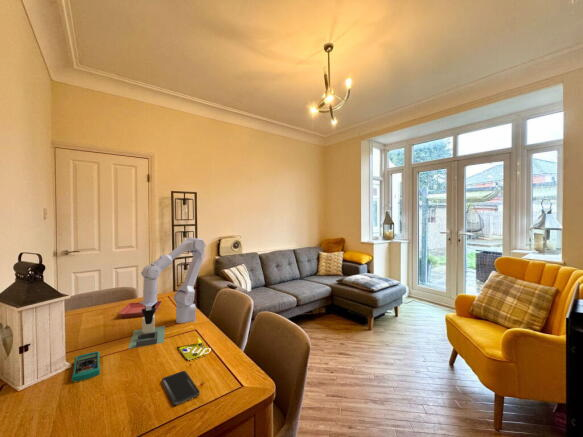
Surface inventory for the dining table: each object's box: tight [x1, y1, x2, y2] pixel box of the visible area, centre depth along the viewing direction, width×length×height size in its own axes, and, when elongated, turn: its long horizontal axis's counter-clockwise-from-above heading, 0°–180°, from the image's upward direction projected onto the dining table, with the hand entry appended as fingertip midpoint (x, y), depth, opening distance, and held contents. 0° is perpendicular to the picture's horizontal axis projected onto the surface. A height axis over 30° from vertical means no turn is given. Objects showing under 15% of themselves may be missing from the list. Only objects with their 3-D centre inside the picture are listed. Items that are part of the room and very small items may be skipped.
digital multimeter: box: [71, 351, 101, 383], centre depth 90 cm, size 7×15×3 cm, turn 38°
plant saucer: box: [118, 300, 163, 319], centre depth 144 cm, size 18×18×3 cm
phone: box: [161, 370, 200, 407], centre depth 81 cm, size 8×1×15 cm
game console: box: [176, 336, 212, 361], centre depth 105 cm, size 18×11×2 cm, turn 43°
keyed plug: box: [141, 313, 156, 333], centre depth 117 cm, size 5×4×7 cm
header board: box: [128, 325, 166, 349], centre depth 113 cm, size 13×18×3 cm
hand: (149, 320), depth 117 cm, fingers open, 7 cm apart
